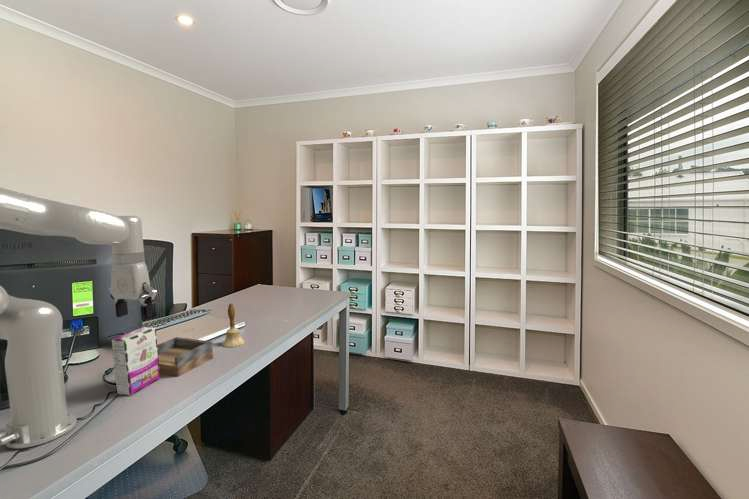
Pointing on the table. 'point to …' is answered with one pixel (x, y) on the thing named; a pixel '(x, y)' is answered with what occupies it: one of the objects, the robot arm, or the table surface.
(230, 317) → the hand bell
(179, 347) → the wooden tray
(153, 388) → the table surface
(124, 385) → the candy bar box
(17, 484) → the table surface
